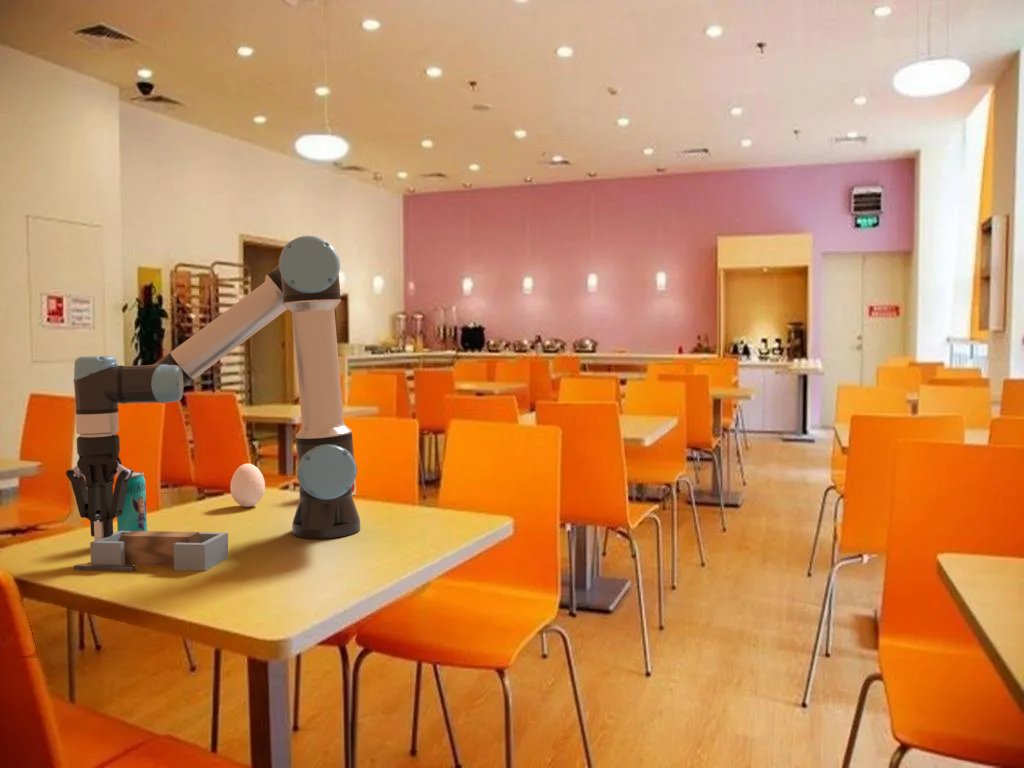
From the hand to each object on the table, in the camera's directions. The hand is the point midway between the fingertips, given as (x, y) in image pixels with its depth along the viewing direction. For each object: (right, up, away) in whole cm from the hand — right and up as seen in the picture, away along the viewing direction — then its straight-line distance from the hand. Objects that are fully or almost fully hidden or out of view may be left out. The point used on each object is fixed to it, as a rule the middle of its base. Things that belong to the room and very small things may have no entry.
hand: (102, 552), depth 160 cm
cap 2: (+20, -2, -2) cm, 20 cm away
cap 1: (+4, -2, -1) cm, 5 cm away
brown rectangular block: (+12, -2, -2) cm, 12 cm away
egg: (+12, +1, +52) cm, 53 cm away
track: (+4, -2, 0) cm, 4 cm away
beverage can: (-1, -1, +15) cm, 15 cm away
